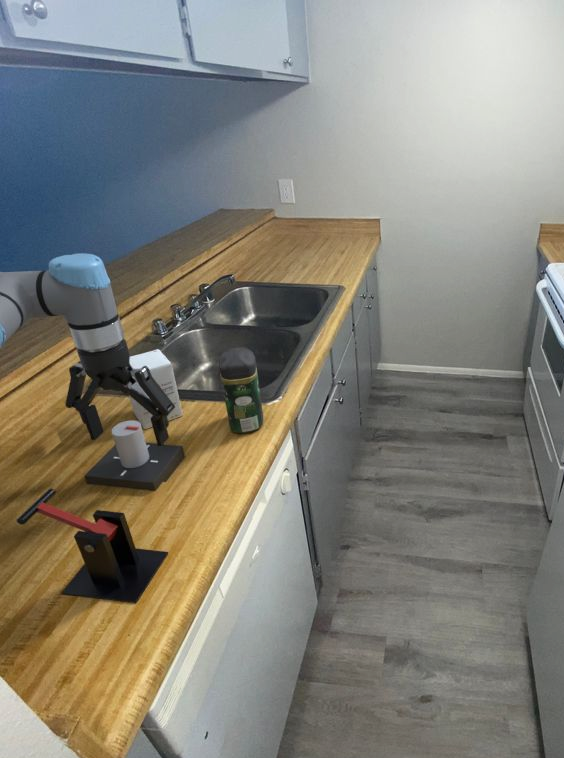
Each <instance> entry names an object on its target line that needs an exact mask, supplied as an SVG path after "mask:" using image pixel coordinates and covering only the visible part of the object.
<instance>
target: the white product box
mask: <svg viewBox="0 0 564 758" xmlns="http://www.w3.org/2000/svg"><path fill="white" fill-rule="evenodd" d="M129 363H130V365H131V366H132V368H133V369H140V368H142V367H143V366H147V367H148V368H149V370H150V373H151V375H152V377H153V378H154V380H155V381H156V382H157V384H158V385H159V386H160V387H161V389H162V390H163V391H164V392H165V394H166V395H167V396H168V398H169V399H170V400H171V401H172V403H173V404H174V405H175V408H174V409H173V410H172V411H171V413H170V414H169V415H168V416H167V419H168V422H169V421H172V420H175V419H178V418H180V417H183V410H182V405H181V401H180V396H179V392H178V387H177V383H176V377H175V374H174V373H175V372H174V369H173V365H172V362H171V361H170V360H169V359H168V358H167V357H166V355H165V354H164V353H163V352H162V351H161V350H160V349H159V348H156V349H154V350H150V351H147V352H143V353H139V354H136V355H130V360H129ZM131 385H132V383H131V382H129V384H128V385H127V387H130V386H131ZM128 397H129V401H130V404H131V408H132V412H133V414H134V416H135V417H136V419H137V421H138V422H139V423H140V424H141V427H142V429H143V430H149V429H151V428H153V427H152V423H151V419H150V418H151V417H152V416H153V415H152V414H151V413H149V412H148V411H147V410H146V409H145V408H144V407H142V406H141V405H140V404H139V403H138V402H137V401H135V400H134V399H133V398H132V397H131V396H130V395H128ZM157 410H158V408H157Z"/></svg>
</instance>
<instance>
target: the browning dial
mask: <svg viewBox="0 0 564 758" xmlns="http://www.w3.org/2000/svg"><path fill="white" fill-rule="evenodd" d="M111 435H112V438H113V441H114V446H115V445H116V448H117V451H118V454H119V458H120V461H121V464H122V466H123V467H125V468H136V467H139V466H141V465H143V464H144V463H146V462H147V461H148V459H149V453H148V449H147V446H146V443H147V442H146V438H145V435H144V431H143V426H142V425H141V423H140V422H139V420H131V419H130V420H125V421H121V422H119V423H117V424H116V425H115V426H113V428H112V429H111Z"/></svg>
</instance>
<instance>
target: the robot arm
mask: <svg viewBox="0 0 564 758" xmlns="http://www.w3.org/2000/svg"><path fill="white" fill-rule="evenodd" d="M110 279H111V278H109V275H108V272H107V270H106V267H105V264H104V262H103V260H102V258H100V257H99V256H98V255H95V254H92V253H73V254H64V255H61V256H57V257H54V258H52V259H51V260H50V261H49V262H48V269H47V270H26V271H25V270H24V271H4V272H3V271H0V349H1V348H2V346H3V345H4V344H5V343H6V341H7V340H8V339H10V338H11V336H13V334H15V333H17V331H19V330H20V329H21V328H22V327H23V326H25V324H26V323H27V322H28V321H30V320H31V319H34V318H47V317H59V316H64V317H65V320H66V322H67V325H68V328H69V331H70V334H71V337H72V340H73V344H74V347H75V348H77V349H76V352H77V356H78V359H79V361H78V362H76V363H75V364H73V365H71V366H70V367H69V368H68V371H69V376H70V379H69V384H68V389H67V393H66V399H65V404H64V405H65V407H66V408H68V409H71V408H74V409H75V411H77V412H78V414H79V416H80V419H81V422H82V423H83V424H84V425H85V426H86V429H87V431H88V434H89V437H90V440H91V441H96V440H97V439H99V437H100V436H102V435H103V434H104V433H105V430H104V427H103V424H102V421H101V418H100V415H99V411H98V410H97V406H96V404H92V403H93V400H94V399H95V397H96V396H97V394H98V393H99V392H100V390H101V389H102V390H103V391H110V390H112V391H116V392H122V394H124V395H126V396H127V395H128V396H129V395H130V396H131V397H132V398H133V399H134V400H135V401H137V402H138V403H139V404H140V405H141V406H142V407H144V408H145V409H146V410H147V411H148V412H149V413H151V414H152V415H153V416H152V417H151V418H150V419H151V423H152V427H151V428H152V430H153V433H154V438H155V441H156V443H157V445H158V446H162V445H163V444H166V442H167V440H168V439H170V436H169V432H168V428H169V426H170V423H169V421H168V419H167V416H168V415H169V414H170V413H171V411H172V410H173V409H174V408H175V405H174V404H173V403H172V401H171V400H170V399H169V398H168V396H167V395H166V394H165V392H164V391H163V390H162V389H161V387H160V386H159V385H158V384H157V382H156V381H155V380H154V378H153V377H152V375H151V373H150V370H149V368H148V367H147V366H143V367H142V368H140V369H133V368H132V366H131V365H130V363H129V360H130V357H131V354H130V350H129V347H128V343H127V340H126V339H125V332H124V330H123V326H122V323H121V319H120V315H119V312H118V309H117V305H116V301H115V297H114V292H113V289H112V285H111V284H112V282H111V280H110ZM87 377H89V379H90V380H91V382H90V383H89V385H88V386H87V388H86V390H85V392H84V393H83V391H84V387H85V382H86V378H87ZM129 382H131V383H132V385H131V386H130V387H127V385H128V384H129ZM157 408H158V410H157Z"/></svg>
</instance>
